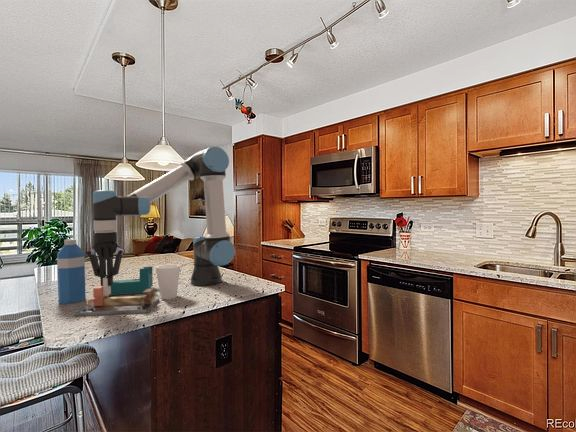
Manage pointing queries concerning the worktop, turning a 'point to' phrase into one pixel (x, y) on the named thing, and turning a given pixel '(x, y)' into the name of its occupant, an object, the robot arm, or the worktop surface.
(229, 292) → the worktop surface
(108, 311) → the bolt plate
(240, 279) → the worktop surface
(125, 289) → the teal l-shaped bracket
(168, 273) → the foam cup
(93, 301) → the sliding jaw
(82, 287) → the water bottle
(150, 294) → the beam gauge
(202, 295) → the worktop surface
